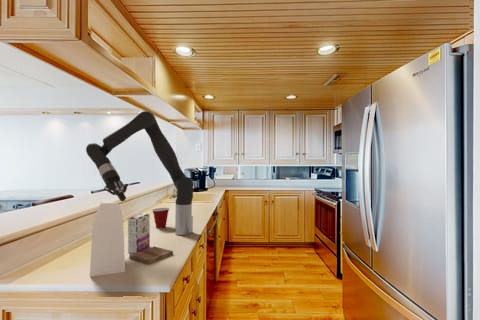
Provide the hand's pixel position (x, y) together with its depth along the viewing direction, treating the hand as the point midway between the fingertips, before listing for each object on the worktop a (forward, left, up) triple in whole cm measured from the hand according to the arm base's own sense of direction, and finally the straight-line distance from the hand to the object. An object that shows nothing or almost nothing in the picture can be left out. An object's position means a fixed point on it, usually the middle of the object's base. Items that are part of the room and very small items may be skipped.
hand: (123, 200), depth 136 cm
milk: (+21, +20, -23) cm, 37 cm away
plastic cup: (-36, -13, -23) cm, 45 cm away
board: (+3, +23, -23) cm, 33 cm away
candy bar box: (0, +11, -23) cm, 26 cm away
